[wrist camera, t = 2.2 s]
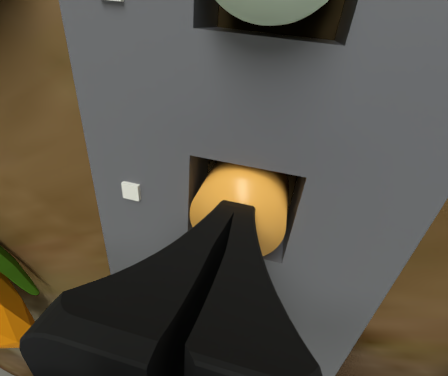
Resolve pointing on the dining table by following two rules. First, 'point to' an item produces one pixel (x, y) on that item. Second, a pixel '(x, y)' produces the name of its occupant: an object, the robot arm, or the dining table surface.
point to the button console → (271, 140)
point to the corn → (13, 301)
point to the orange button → (247, 198)
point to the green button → (271, 10)
